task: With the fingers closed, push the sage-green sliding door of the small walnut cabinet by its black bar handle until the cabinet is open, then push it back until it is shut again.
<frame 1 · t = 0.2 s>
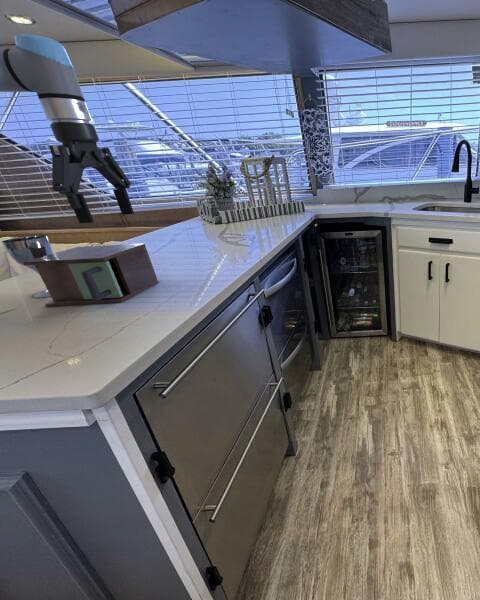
hand: (109, 218, 81), 19 cm above the worktop, tool pointing down, fingers open, 13 cm apart
wine glass: (52, 293, 88), on the worktop
door: (88, 283, 76), point 6 cm above the worktop, slide at 0.0 cm
cabinet: (110, 291, 87), on the worktop
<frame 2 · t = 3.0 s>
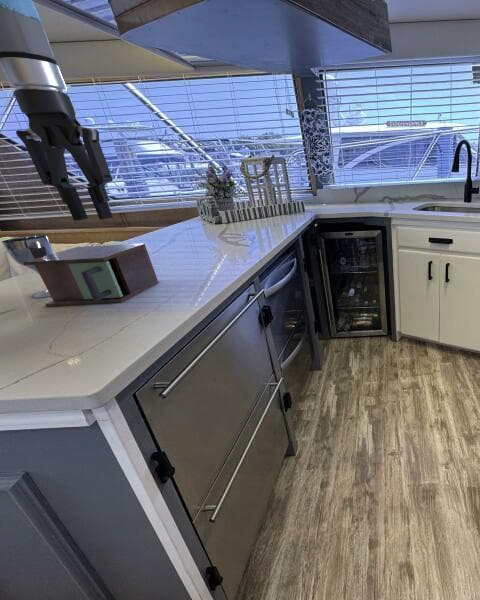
hand: (93, 218, 69), 21 cm above the worktop, tool pointing down, fingers open, 4 cm apart
nothing on the worktop moved.
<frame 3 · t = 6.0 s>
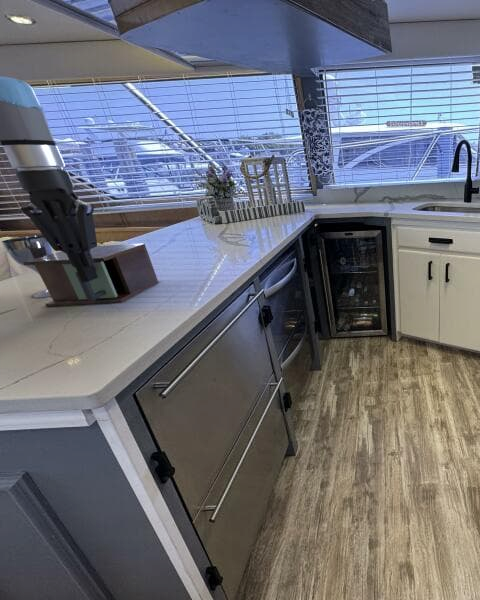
hand: (90, 279, 74), 7 cm above the worktop, tool pointing down, fingers closed
door: (83, 283, 76), point 6 cm above the worktop, slide at 1.3 cm, touching gripper
everything else where it was.
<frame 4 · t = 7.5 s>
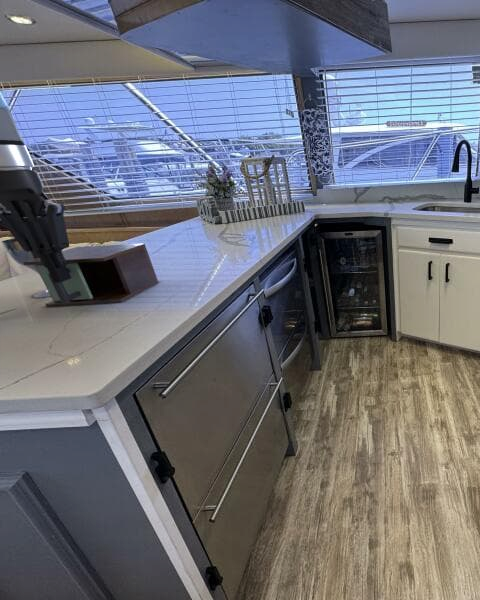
hand: (62, 280, 74), 7 cm above the worktop, tool pointing down, fingers closed
door: (57, 285, 76), point 6 cm above the worktop, slide at 7.2 cm, touching gripper
everything else where it was.
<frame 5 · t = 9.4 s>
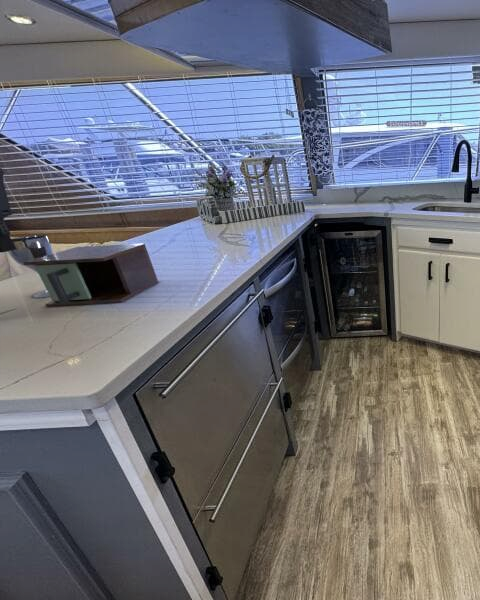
hand: (6, 250, 70), 15 cm above the worktop, tool pointing down, fingers closed
door: (55, 285, 76), point 6 cm above the worktop, slide at 7.5 cm
everything else where it was.
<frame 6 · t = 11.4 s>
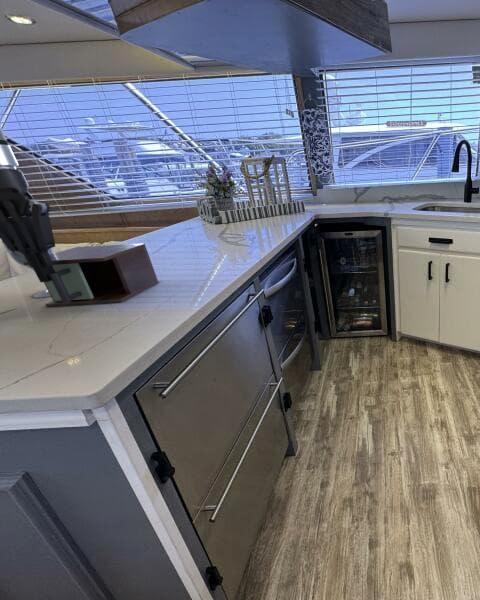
hand: (49, 280, 73), 8 cm above the worktop, tool pointing down, fingers closed
door: (57, 285, 76), point 6 cm above the worktop, slide at 7.0 cm, touching gripper
everything else where it was.
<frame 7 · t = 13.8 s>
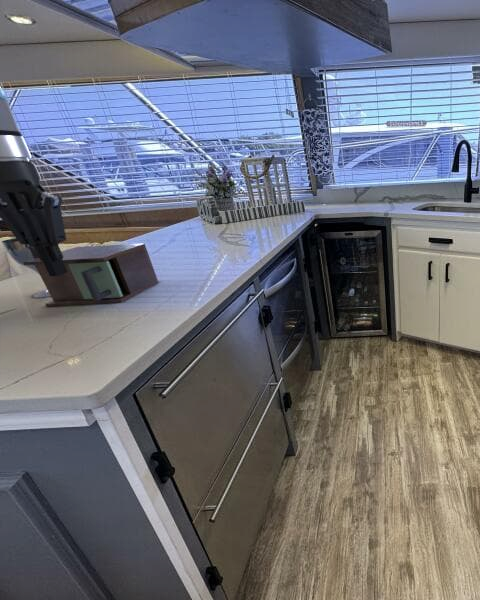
hand: (59, 274, 72), 9 cm above the worktop, tool pointing down, fingers closed
door: (88, 283, 76), point 6 cm above the worktop, slide at 0.0 cm
everything else where it was.
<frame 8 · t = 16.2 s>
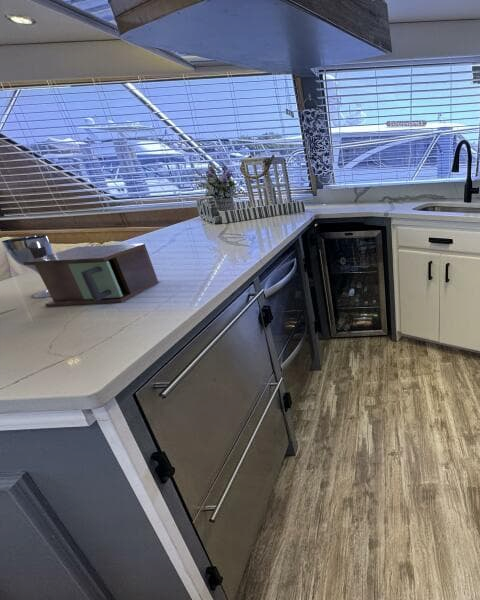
nothing on the worktop moved.
at the end: door pulled out 7.5 cm at the most during the clip, back to where it started at the end; door slide at 0.0 cm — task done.
